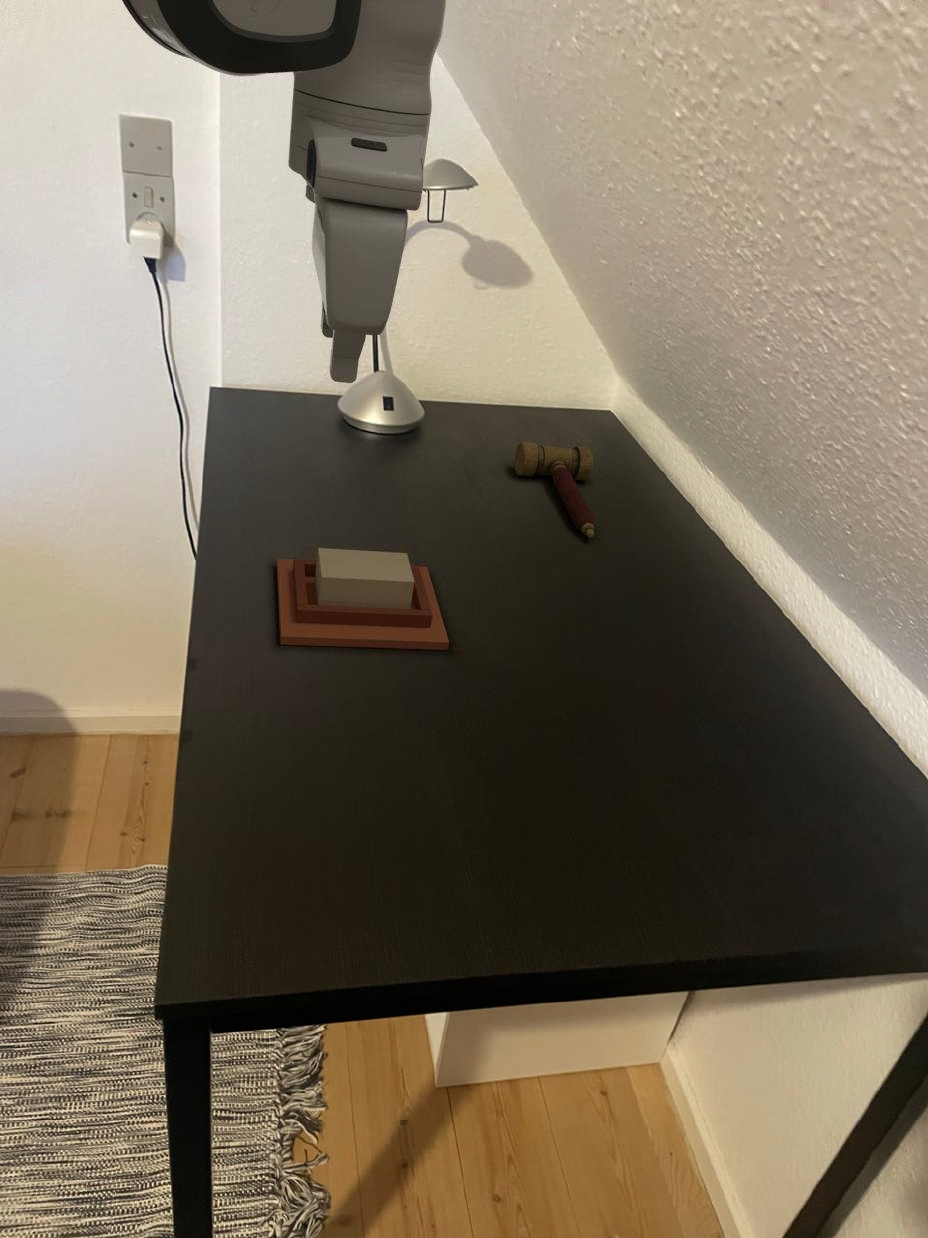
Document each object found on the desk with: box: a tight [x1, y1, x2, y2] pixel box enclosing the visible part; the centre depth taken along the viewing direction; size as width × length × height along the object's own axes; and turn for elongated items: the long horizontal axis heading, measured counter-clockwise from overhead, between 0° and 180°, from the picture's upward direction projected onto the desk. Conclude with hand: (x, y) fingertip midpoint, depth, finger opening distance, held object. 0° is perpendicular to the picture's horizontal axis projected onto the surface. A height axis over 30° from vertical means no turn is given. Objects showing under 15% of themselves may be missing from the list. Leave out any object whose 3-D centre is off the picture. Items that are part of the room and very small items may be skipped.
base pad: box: [276, 558, 450, 651], centre depth 95 cm, size 16×14×2 cm
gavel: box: [514, 441, 595, 539], centre depth 124 cm, size 21×5×10 cm
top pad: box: [315, 547, 414, 609], centre depth 94 cm, size 9×6×4 cm, turn 100°
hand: (337, 355), depth 69 cm, fingers open, 8 cm apart
